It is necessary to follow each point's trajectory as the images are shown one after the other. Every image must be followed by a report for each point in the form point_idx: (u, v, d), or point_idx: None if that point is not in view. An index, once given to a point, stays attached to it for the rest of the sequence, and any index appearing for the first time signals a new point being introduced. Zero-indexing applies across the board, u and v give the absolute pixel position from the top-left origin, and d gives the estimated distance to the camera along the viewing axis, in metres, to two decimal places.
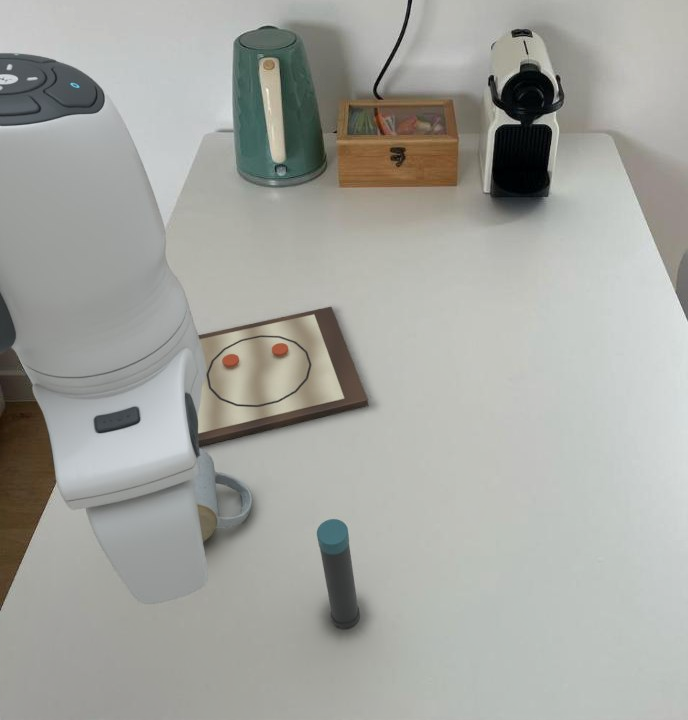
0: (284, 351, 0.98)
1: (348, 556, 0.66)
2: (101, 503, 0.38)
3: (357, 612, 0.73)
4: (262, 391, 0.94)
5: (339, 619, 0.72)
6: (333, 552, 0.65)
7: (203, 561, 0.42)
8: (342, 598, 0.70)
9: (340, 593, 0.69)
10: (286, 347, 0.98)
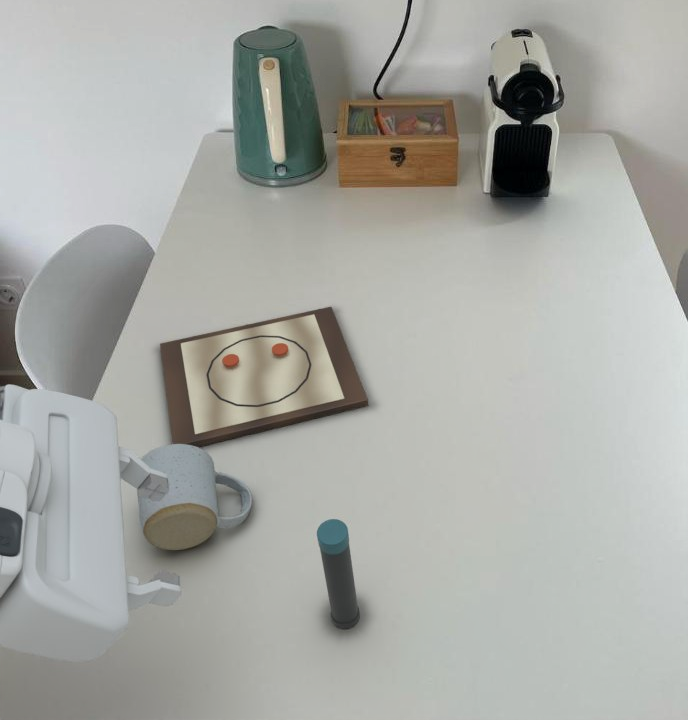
0: (284, 351, 0.98)
1: (348, 556, 0.66)
2: None
3: (357, 612, 0.73)
4: (262, 391, 0.94)
5: (339, 619, 0.72)
6: (333, 552, 0.65)
7: (91, 619, 0.47)
8: (342, 598, 0.70)
9: (340, 593, 0.69)
10: (286, 347, 0.98)
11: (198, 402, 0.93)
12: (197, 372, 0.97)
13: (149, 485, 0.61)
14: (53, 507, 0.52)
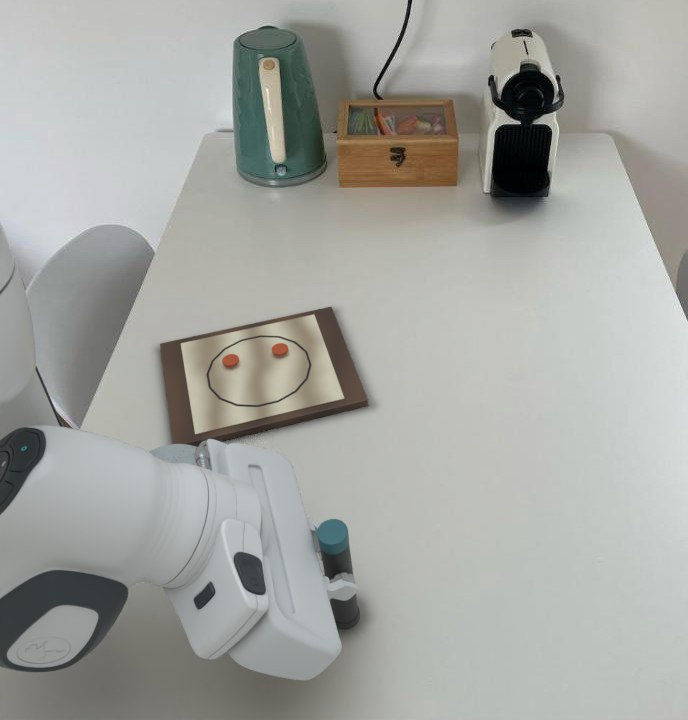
0: (284, 351, 0.98)
1: (348, 556, 0.66)
2: (226, 650, 0.56)
3: (357, 612, 0.73)
4: (262, 391, 0.94)
5: (339, 619, 0.72)
6: (333, 552, 0.65)
7: (318, 645, 0.57)
8: None
9: None
10: (286, 347, 0.98)
11: (198, 402, 0.93)
12: (197, 372, 0.97)
13: None
14: (269, 549, 0.61)
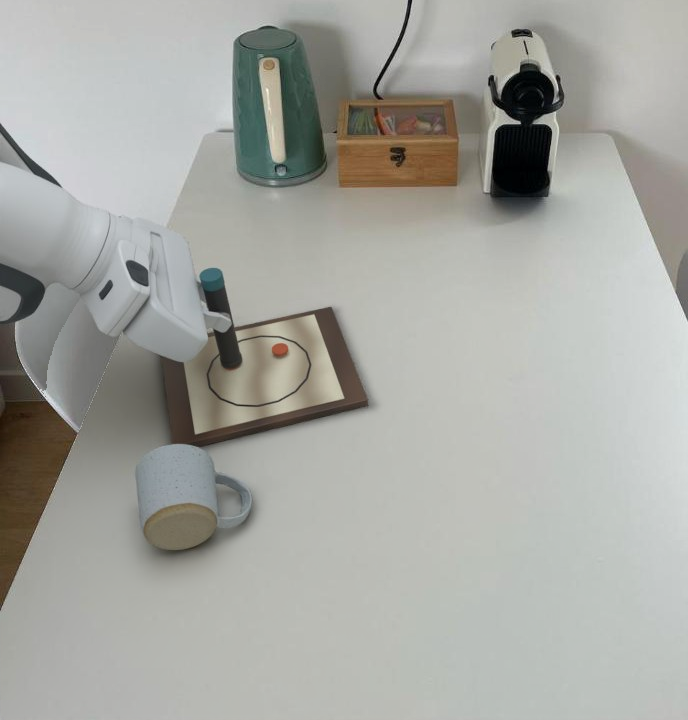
0: (284, 351, 0.98)
1: (224, 297, 0.90)
2: (121, 328, 0.79)
3: (239, 356, 0.96)
4: (262, 391, 0.94)
5: (225, 359, 0.96)
6: (211, 289, 0.88)
7: (188, 329, 0.80)
8: (224, 337, 0.93)
9: None
10: (286, 347, 0.98)
11: (198, 402, 0.93)
12: (197, 372, 0.97)
13: None
14: (159, 277, 0.85)
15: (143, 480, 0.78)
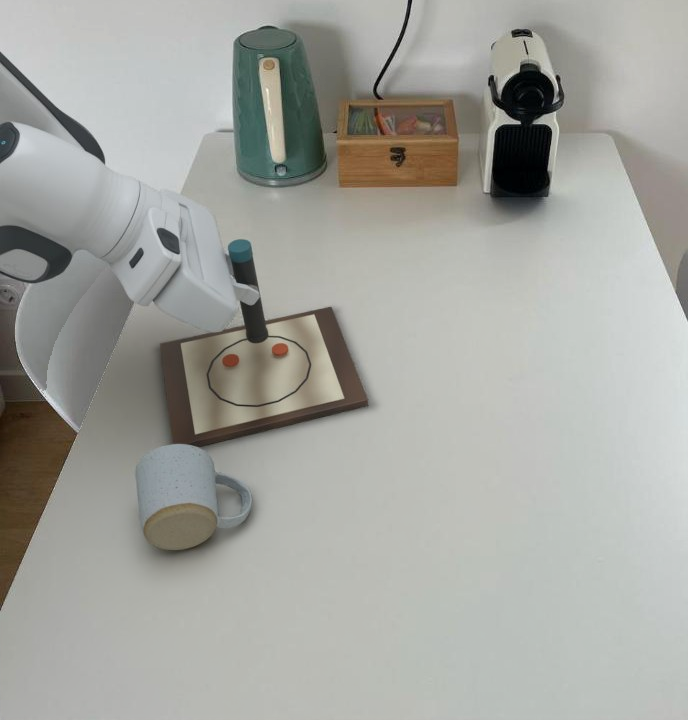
0: (284, 351, 0.98)
1: (253, 269, 0.89)
2: (151, 296, 0.78)
3: (265, 330, 0.95)
4: (262, 391, 0.94)
5: (251, 333, 0.94)
6: (240, 260, 0.87)
7: (219, 298, 0.79)
8: (251, 310, 0.92)
9: (249, 305, 0.91)
10: (286, 347, 0.98)
11: (198, 402, 0.93)
12: (197, 372, 0.97)
13: None
14: (188, 247, 0.84)
15: (143, 480, 0.78)
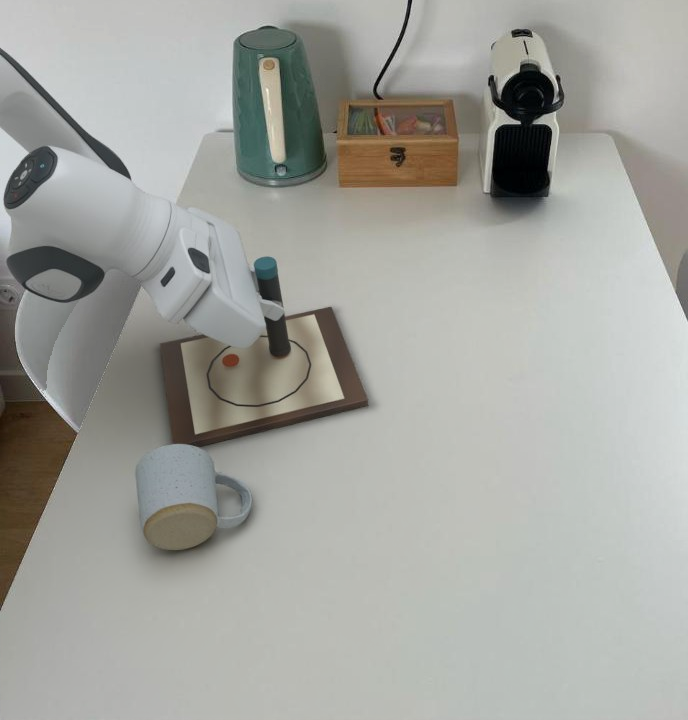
0: None
1: (277, 285, 0.91)
2: (182, 314, 0.80)
3: (288, 344, 0.98)
4: (262, 391, 0.94)
5: (274, 347, 0.97)
6: (265, 277, 0.90)
7: (248, 316, 0.82)
8: (275, 325, 0.94)
9: (273, 320, 0.94)
10: None
11: (198, 402, 0.93)
12: (197, 372, 0.97)
13: None
14: (216, 265, 0.86)
15: (143, 480, 0.78)
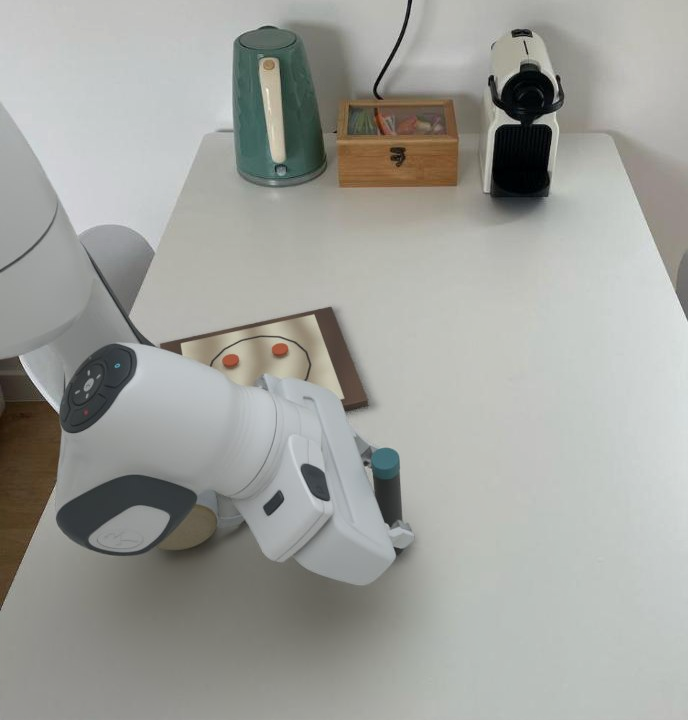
0: (284, 351, 0.98)
1: (398, 482, 0.72)
2: (293, 553, 0.61)
3: None
4: None
5: None
6: (386, 477, 0.70)
7: (376, 550, 0.62)
8: (391, 525, 0.75)
9: (389, 519, 0.74)
10: (286, 347, 0.98)
11: None
12: None
13: (371, 455, 0.76)
14: (327, 468, 0.67)
15: None
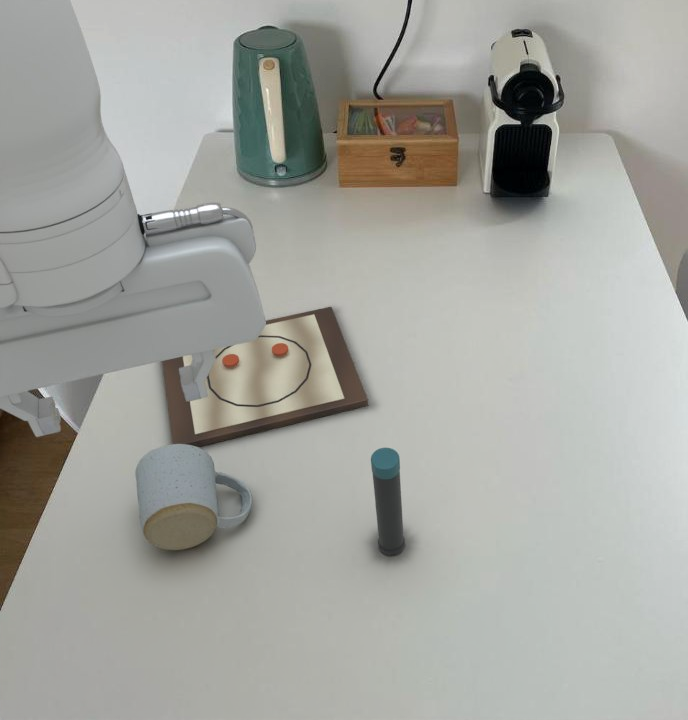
0: (284, 351, 0.98)
1: (398, 482, 0.72)
2: None
3: (403, 540, 0.78)
4: (262, 391, 0.94)
5: (387, 546, 0.77)
6: (386, 477, 0.70)
7: None
8: (391, 525, 0.75)
9: (389, 519, 0.74)
10: (286, 347, 0.98)
11: (198, 402, 0.93)
12: None
13: (181, 383, 0.52)
14: (51, 316, 0.45)
15: (143, 480, 0.78)
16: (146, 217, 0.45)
